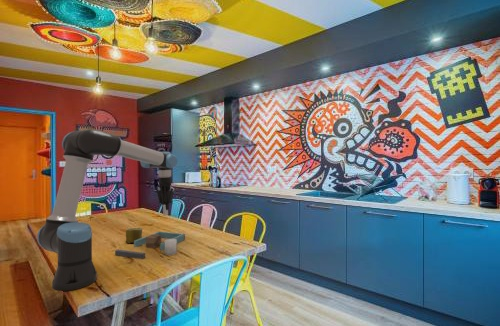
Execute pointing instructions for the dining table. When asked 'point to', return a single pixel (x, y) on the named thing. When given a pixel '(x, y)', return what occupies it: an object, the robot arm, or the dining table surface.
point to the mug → (133, 234)
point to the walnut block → (153, 241)
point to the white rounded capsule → (170, 246)
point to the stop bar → (130, 254)
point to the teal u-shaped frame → (163, 235)
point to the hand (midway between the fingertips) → (165, 214)
